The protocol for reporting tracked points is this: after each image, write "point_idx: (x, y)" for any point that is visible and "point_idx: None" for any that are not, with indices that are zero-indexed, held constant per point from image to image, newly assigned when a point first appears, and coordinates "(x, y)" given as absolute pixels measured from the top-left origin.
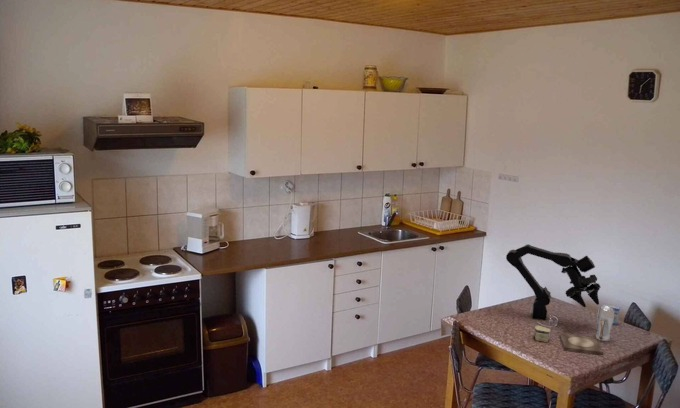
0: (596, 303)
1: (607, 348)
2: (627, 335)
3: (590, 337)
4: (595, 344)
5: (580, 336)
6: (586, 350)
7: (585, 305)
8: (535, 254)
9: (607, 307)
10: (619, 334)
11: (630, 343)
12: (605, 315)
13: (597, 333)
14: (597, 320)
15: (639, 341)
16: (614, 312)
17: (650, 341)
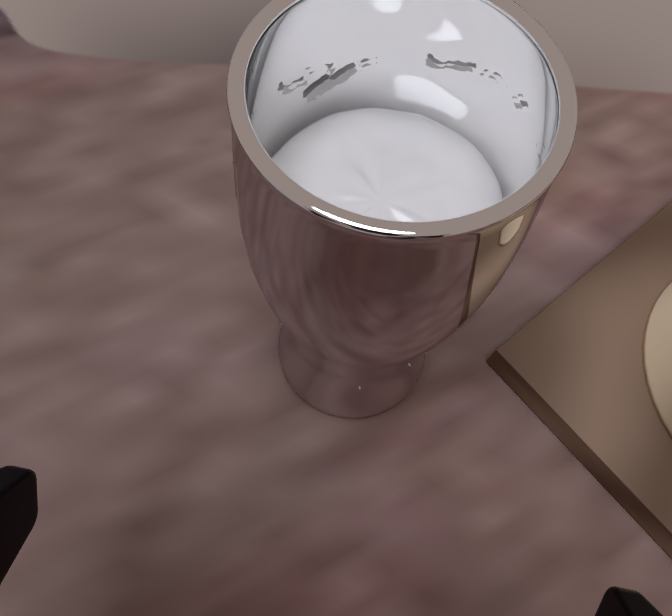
0: (8, 553)
1: (541, 209)
2: (22, 242)
3: (548, 390)
4: (661, 265)
5: (641, 478)
6: None
7: (638, 604)
8: None
9: (246, 138)
10: (61, 301)
11: (224, 146)
12: (522, 115)
13: (409, 373)
14: (454, 331)
15: (99, 121)
16: None
17: (14, 72)
